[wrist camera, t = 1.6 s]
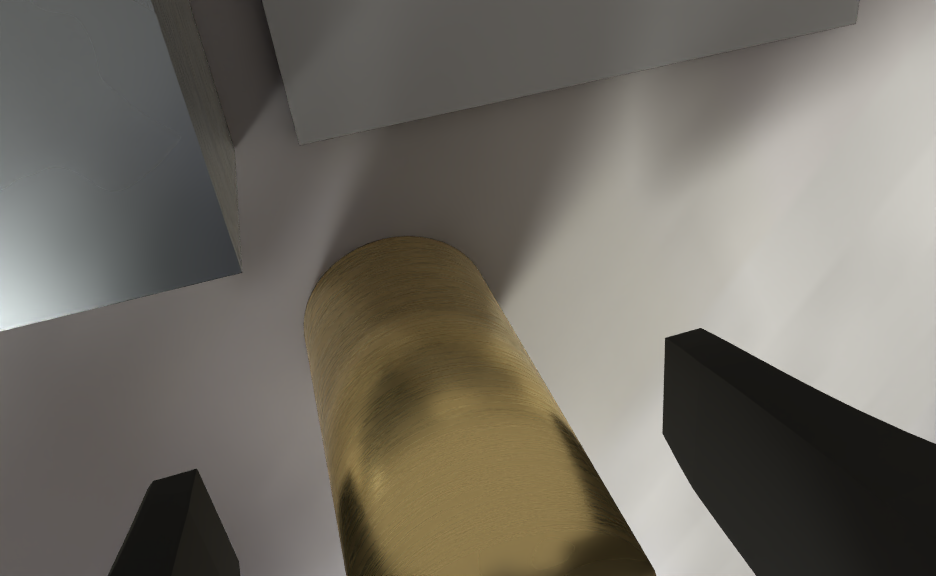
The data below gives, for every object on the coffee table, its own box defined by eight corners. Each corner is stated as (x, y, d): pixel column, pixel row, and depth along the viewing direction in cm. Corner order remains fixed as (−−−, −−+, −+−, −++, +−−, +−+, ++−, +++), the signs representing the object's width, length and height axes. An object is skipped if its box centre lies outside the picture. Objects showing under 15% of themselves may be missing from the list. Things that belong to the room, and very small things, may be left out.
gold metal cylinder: (497, 368, 16) (656, 675, 10) (327, 415, 15) (395, 770, 10) (477, 216, 14) (661, 491, 8) (281, 263, 13) (333, 595, 8)
